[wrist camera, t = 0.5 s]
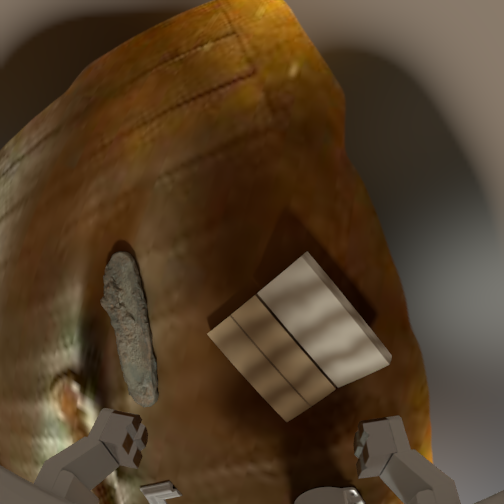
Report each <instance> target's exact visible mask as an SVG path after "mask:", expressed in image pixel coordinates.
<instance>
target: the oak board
mask: <svg viewBox="0 0 504 504" xmlns="http://www.w3.org/2000/svg"><path fill="white" fill-rule="evenodd" d="M207 335H208V336H209V337H210V338H211V339H212V341H213V342H214V343H215V344H216V345H217V346H218V348H219V349H220V350H221V351H222V352H223V353H224V355H225V356H226V357H227V358H228V359H229V360H230V362H231V363H232V364H233V365H234V366H235V367H236V368H237V370H238V371H239V372H240V373H241V374H242V375H243V376H244V377H245V378H246V380H247V381H248V382H249V383H250V384H251V385H252V386H253V387H254V388H255V389H256V391H257V392H258V393H259V394H260V395H261V396H262V397H263V398H264V399H265V400H266V401H267V402H268V403H269V405H270V406H271V407H272V408H273V409H274V410H275V411H276V412H277V413H278V414H279V415H280V416H281V417H282V418H283V419H284V420H285V421H286V422H288V421H290V420H291V419H293V418H295V417H296V416H298V415H299V414H301V413H302V412H304V411H305V410H307V409H308V408H310V407H312V406H313V405H314V404H316V403H317V402H319V401H320V400H322V399H323V398H324V397H326V396H327V395H329V394H330V393H332V392H333V391H334V390H336V387H335V384H334V383H333V382H332V380H331V379H330V378H329V377H328V376H327V375H326V373H325V372H324V371H323V370H322V369H321V368H320V367H319V365H318V364H317V363H316V362H315V361H314V360H313V359H312V357H311V356H310V355H309V354H308V353H307V352H306V350H305V349H304V348H303V347H302V346H301V345H300V343H299V342H298V341H297V340H296V339H295V338H294V336H293V335H292V334H291V333H290V332H289V331H288V329H287V328H286V327H285V326H284V325H283V324H282V322H281V321H280V320H279V319H278V318H277V316H276V315H275V314H274V313H273V312H272V311H271V309H270V308H269V307H268V306H267V305H266V303H265V302H264V301H263V300H262V299H261V298H260V296H259V295H258V294H255V295H254V296H253V297H252V298H251V299H249V300H248V301H247V302H246V303H245V304H243V305H242V306H241V307H240V308H238V309H237V310H236V311H235V312H234V313H232V314H231V315H230V316H229V317H227V318H226V319H225V320H224V321H222V322H221V323H220V324H219V325H218V326H216V327H215V328H214V329H213V330H211V331H210V332H209V333H208V334H207Z"/></svg>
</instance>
